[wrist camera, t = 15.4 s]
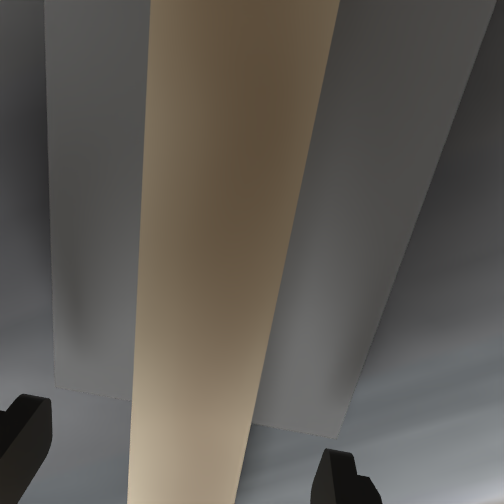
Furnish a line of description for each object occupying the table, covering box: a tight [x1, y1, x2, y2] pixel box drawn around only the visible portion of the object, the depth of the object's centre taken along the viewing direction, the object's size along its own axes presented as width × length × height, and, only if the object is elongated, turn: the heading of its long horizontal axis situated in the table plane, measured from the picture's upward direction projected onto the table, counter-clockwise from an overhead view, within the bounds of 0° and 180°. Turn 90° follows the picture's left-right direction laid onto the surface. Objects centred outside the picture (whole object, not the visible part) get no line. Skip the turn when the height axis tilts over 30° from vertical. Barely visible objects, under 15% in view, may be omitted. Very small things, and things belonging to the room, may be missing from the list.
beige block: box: [127, 0, 340, 504], centre depth 11 cm, size 3×20×3 cm, turn 171°
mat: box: [44, 0, 497, 439], centre depth 11 cm, size 10×16×1 cm, turn 170°
